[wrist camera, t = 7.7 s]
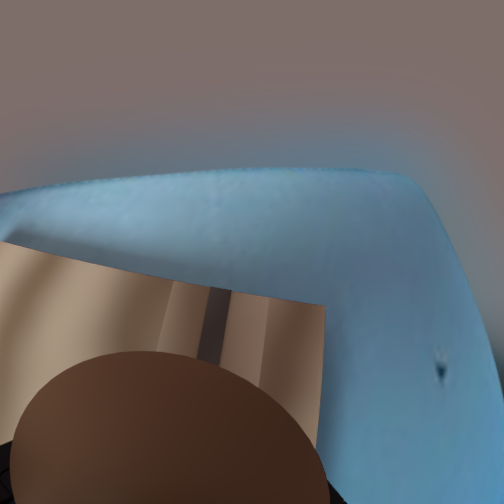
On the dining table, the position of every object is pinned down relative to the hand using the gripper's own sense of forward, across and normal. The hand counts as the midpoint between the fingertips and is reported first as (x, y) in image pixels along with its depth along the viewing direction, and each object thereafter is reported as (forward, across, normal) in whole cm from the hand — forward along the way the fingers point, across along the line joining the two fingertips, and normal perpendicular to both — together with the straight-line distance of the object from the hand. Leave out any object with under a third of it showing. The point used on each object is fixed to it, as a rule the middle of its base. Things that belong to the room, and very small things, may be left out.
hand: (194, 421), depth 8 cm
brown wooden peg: (+3, 0, +5) cm, 6 cm away
